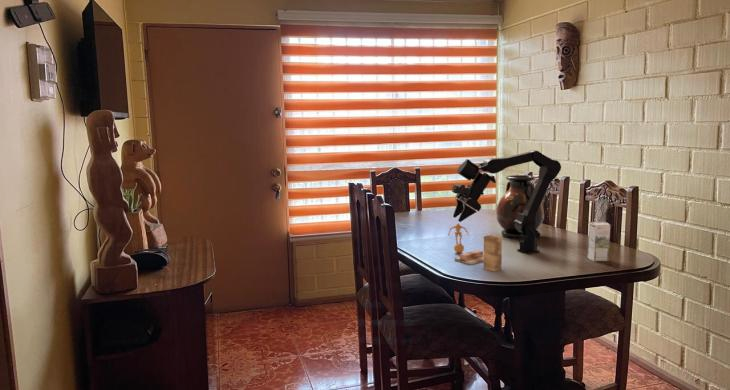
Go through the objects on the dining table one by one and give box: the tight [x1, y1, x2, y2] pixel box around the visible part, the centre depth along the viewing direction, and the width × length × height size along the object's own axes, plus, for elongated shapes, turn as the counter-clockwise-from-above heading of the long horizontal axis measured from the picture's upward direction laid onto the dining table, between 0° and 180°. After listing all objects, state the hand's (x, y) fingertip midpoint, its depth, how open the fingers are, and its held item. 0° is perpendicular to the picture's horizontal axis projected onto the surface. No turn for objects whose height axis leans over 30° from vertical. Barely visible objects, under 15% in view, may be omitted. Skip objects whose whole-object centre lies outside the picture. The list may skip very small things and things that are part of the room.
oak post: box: [483, 234, 503, 272], centre depth 195 cm, size 4×4×12 cm
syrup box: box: [587, 221, 611, 263], centre depth 205 cm, size 6×6×14 cm
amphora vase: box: [495, 174, 545, 240], centre depth 250 cm, size 22×22×28 cm
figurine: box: [448, 222, 469, 254], centre depth 221 cm, size 8×6×12 cm
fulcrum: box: [454, 249, 484, 265], centre depth 209 cm, size 12×8×3 cm, turn 128°
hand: (456, 219), depth 216 cm, fingers open, 9 cm apart
